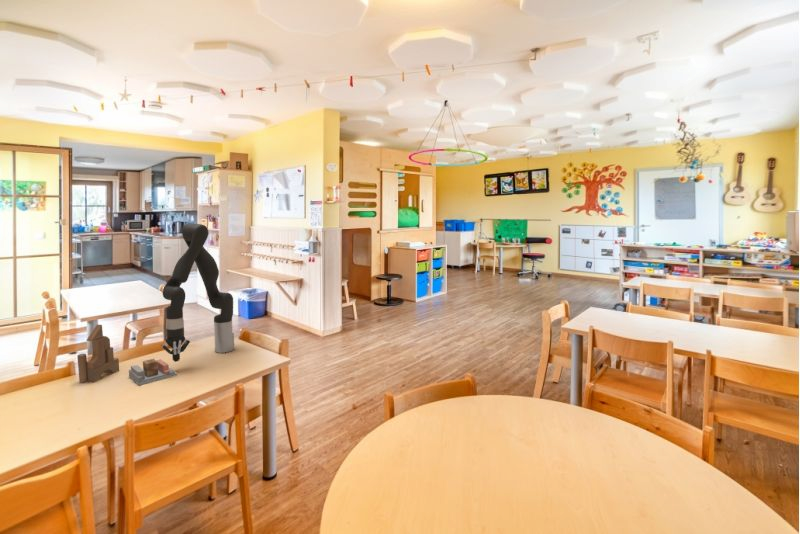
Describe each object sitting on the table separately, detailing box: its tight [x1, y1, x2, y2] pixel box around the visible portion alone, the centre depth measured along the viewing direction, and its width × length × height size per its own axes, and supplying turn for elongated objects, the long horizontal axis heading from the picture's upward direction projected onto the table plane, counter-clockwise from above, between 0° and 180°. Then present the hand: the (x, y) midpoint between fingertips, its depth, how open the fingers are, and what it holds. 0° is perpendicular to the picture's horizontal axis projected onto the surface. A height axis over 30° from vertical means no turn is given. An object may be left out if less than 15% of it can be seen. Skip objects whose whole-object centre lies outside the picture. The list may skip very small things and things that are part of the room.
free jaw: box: [155, 359, 170, 374], centre depth 189 cm, size 2×13×4 cm, turn 50°
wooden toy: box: [77, 324, 120, 384], centre depth 183 cm, size 15×7×25 cm, turn 172°
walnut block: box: [142, 358, 158, 377], centre depth 185 cm, size 4×5×6 cm
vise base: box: [128, 364, 178, 386], centre depth 186 cm, size 16×14×6 cm
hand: (176, 361), depth 194 cm, fingers closed
